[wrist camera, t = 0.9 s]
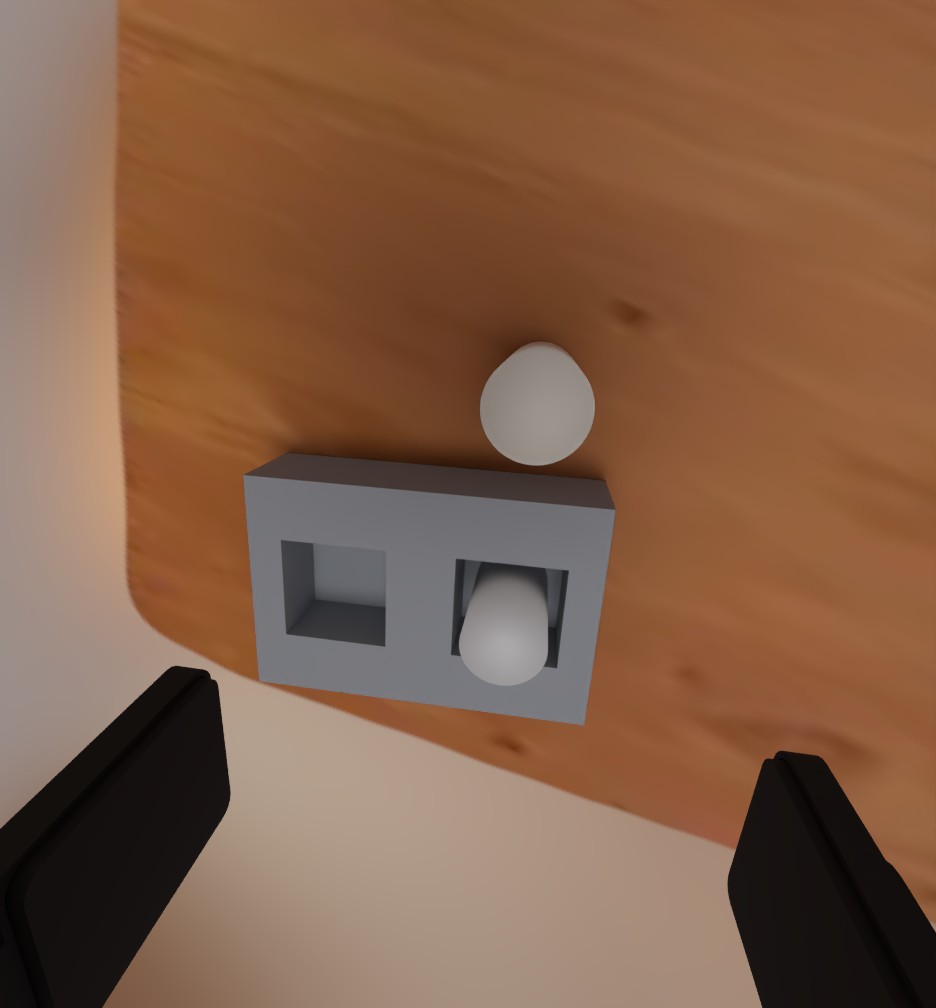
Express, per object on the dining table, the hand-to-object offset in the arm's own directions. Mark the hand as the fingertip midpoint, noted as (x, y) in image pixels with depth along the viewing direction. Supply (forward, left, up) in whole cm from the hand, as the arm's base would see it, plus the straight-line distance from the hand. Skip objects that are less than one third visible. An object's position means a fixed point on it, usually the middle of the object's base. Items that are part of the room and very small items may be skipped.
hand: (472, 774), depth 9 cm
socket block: (+7, -4, -22) cm, 23 cm away
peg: (-4, +1, -22) cm, 23 cm away
